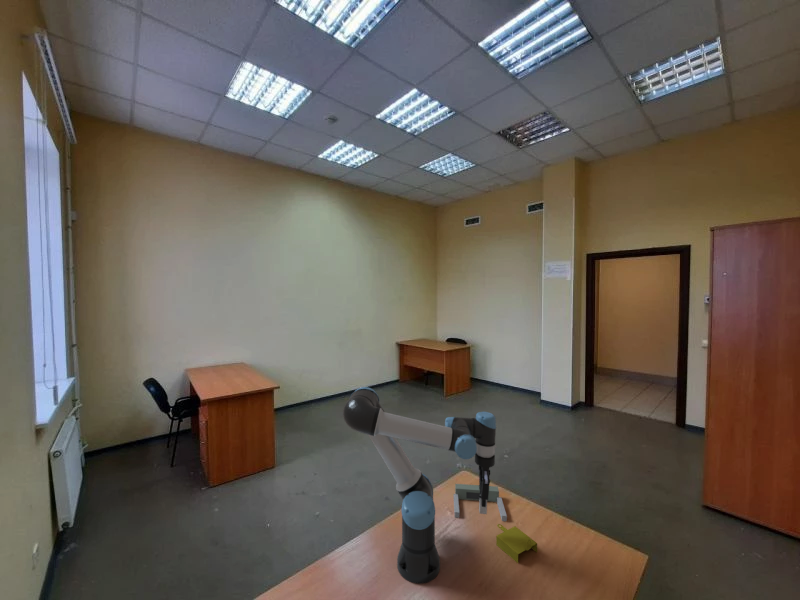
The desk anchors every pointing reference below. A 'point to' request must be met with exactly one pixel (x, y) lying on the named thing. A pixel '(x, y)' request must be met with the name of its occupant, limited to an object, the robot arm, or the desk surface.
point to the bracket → (514, 542)
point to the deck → (477, 497)
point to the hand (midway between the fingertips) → (482, 512)
